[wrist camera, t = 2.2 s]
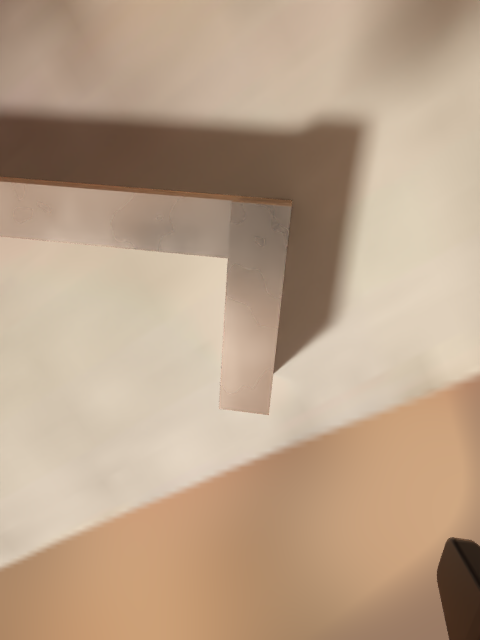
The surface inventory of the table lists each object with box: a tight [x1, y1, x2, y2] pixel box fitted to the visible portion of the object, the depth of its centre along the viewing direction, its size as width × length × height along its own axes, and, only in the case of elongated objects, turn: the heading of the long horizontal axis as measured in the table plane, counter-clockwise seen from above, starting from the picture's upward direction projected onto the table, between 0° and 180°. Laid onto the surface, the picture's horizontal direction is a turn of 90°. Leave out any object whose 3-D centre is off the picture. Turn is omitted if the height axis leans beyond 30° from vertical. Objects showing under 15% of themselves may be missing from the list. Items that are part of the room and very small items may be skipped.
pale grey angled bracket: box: [0, 177, 292, 415], centre depth 16 cm, size 13×18×4 cm
